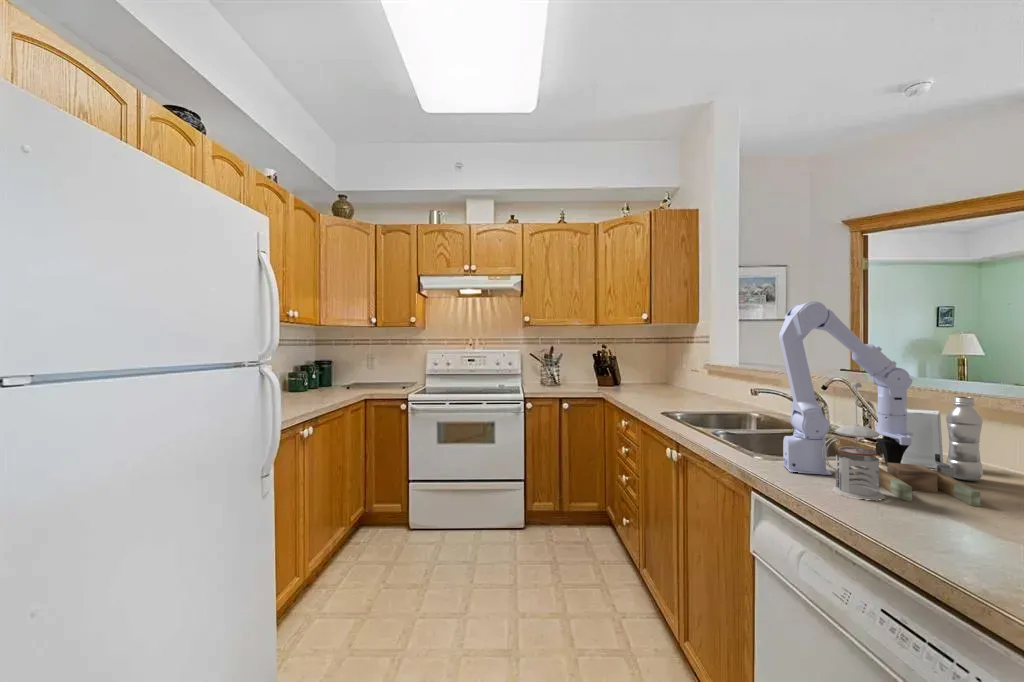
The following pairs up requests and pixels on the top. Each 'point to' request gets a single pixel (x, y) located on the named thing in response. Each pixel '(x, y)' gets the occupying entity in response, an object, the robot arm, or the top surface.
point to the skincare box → (923, 438)
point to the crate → (914, 476)
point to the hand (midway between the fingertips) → (892, 467)
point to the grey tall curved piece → (856, 463)
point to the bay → (943, 483)
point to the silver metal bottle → (964, 439)
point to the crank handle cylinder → (944, 467)
